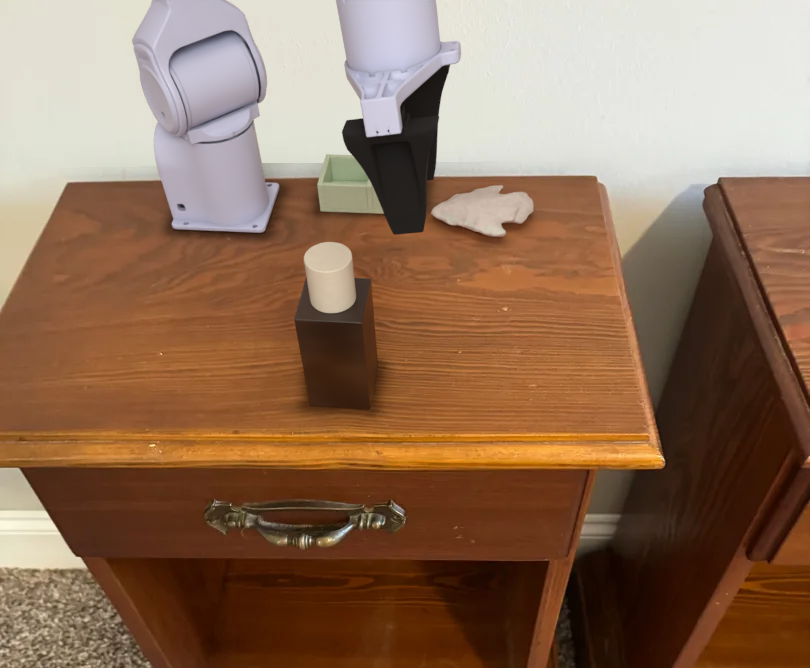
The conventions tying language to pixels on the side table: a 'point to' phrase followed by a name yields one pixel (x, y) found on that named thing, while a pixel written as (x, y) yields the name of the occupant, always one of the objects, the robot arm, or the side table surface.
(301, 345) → the stand
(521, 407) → the side table surface
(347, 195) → the green divided box
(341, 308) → the beige cylinder
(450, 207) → the arrowhead
